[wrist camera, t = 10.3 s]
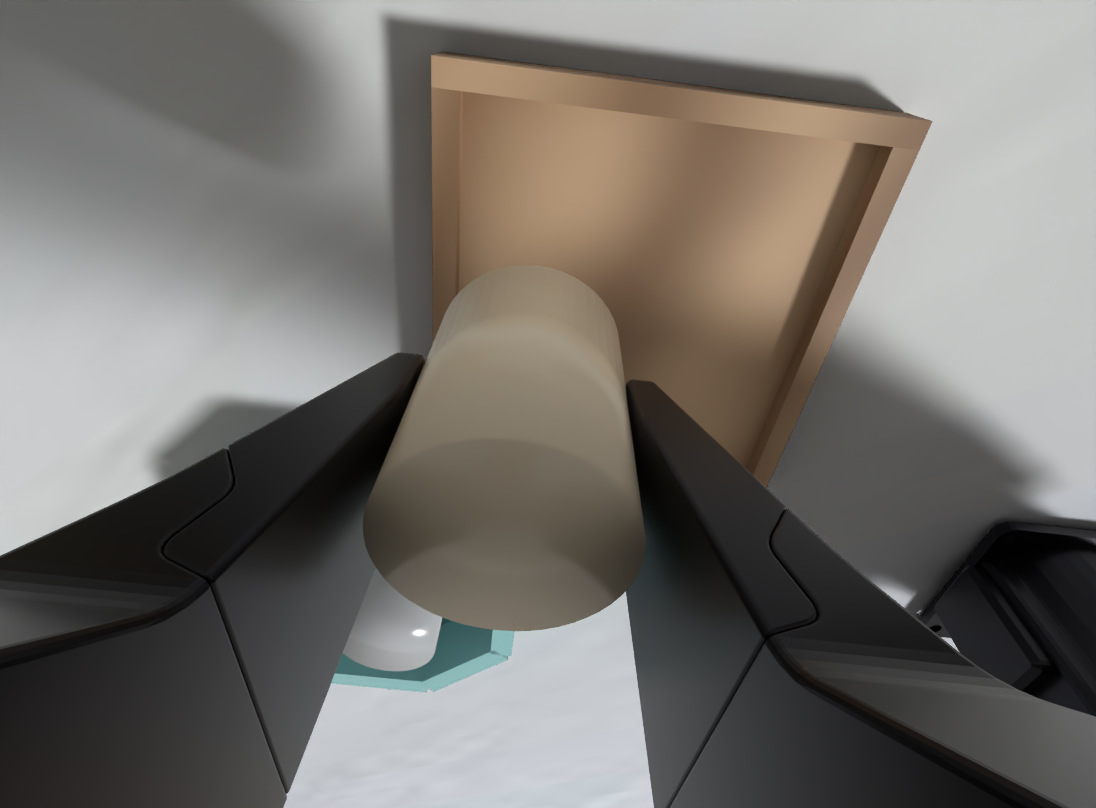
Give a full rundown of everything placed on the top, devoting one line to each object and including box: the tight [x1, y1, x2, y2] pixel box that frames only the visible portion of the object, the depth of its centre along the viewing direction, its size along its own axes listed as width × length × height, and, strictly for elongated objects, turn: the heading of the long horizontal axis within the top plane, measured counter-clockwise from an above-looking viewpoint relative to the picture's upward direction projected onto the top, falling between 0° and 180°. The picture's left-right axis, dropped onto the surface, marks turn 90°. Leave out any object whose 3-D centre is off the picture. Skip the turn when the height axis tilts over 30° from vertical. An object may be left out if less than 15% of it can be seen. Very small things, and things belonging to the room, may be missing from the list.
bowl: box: [331, 617, 514, 692], centre depth 22 cm, size 11×11×3 cm
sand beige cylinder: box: [363, 265, 646, 631], centre depth 8 cm, size 3×3×4 cm
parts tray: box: [431, 52, 932, 488], centre depth 16 cm, size 11×12×1 cm
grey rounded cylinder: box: [343, 568, 442, 671], centre depth 20 cm, size 3×3×4 cm
